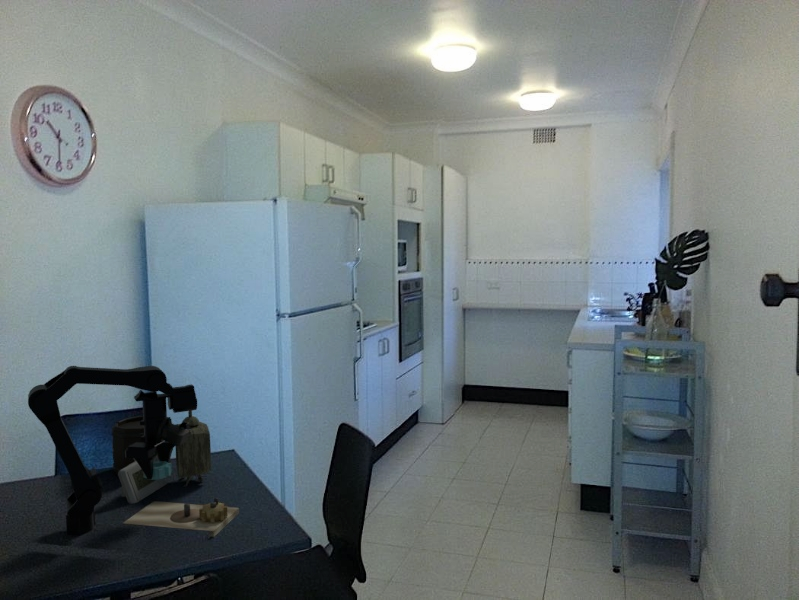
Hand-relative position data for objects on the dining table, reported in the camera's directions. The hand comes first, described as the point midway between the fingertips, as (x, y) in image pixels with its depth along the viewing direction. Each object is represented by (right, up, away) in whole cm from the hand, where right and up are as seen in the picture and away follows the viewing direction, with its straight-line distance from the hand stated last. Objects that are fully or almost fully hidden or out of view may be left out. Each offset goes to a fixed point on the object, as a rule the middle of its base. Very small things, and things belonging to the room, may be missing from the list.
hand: (157, 473), depth 167 cm
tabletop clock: (+1, -10, +26) cm, 28 cm away
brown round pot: (-19, -9, +38) cm, 44 cm away
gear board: (+6, -12, 0) cm, 14 cm away
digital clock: (-10, -11, +16) cm, 22 cm away
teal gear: (0, -1, 0) cm, 0 cm away
